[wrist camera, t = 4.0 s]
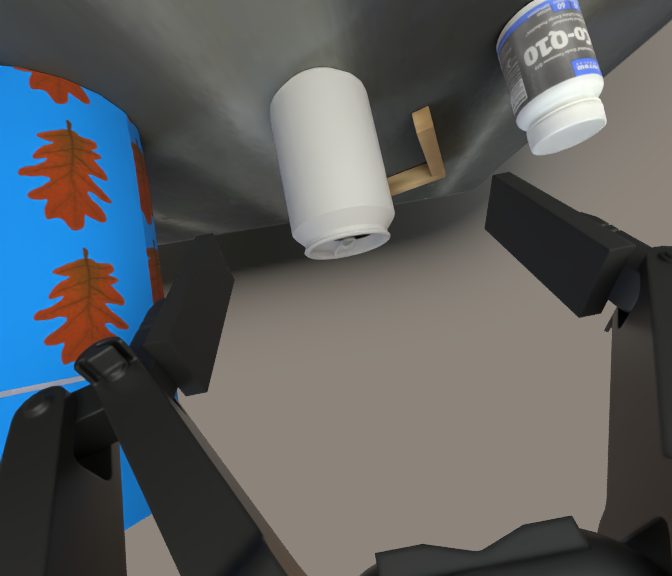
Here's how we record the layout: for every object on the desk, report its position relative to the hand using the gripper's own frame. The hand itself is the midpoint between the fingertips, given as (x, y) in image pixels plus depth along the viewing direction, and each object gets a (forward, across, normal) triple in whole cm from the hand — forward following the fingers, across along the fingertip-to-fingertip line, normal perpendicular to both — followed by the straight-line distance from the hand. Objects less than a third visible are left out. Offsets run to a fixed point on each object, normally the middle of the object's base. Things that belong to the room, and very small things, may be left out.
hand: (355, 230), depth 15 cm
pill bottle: (+13, +15, +6) cm, 20 cm away
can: (+14, 0, +4) cm, 15 cm away
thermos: (+13, -19, +6) cm, 23 cm away
